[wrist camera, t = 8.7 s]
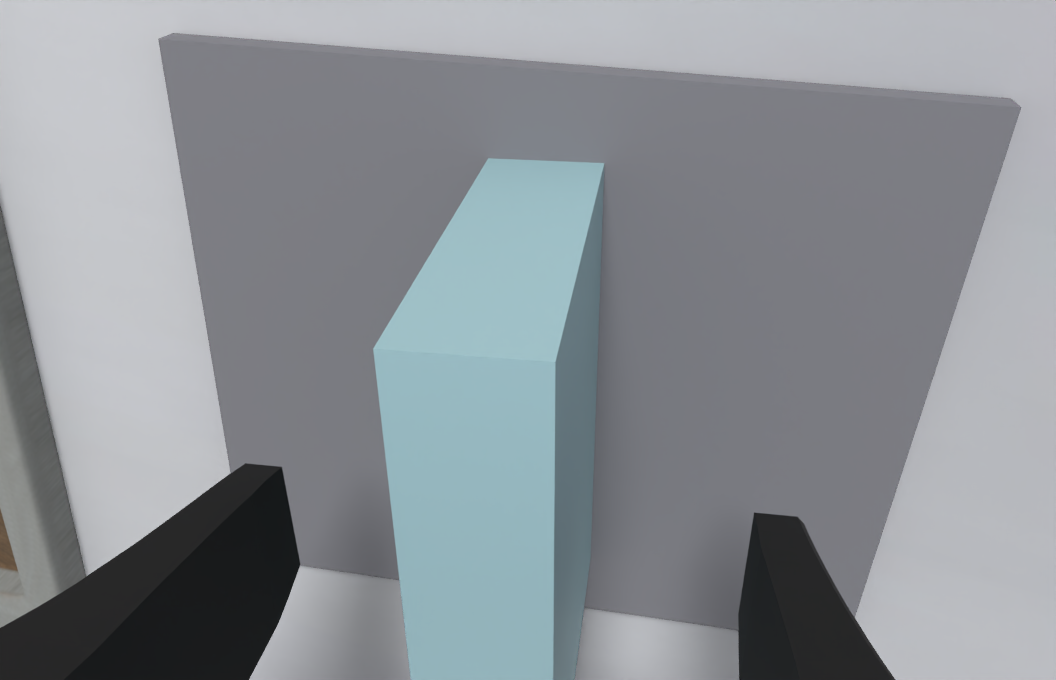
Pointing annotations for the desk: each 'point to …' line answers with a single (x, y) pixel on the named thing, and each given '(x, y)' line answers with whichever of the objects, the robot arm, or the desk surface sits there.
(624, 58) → the desk surface
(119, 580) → the robot arm
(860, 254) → the mat
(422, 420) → the pale teal block
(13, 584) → the grey flat rectangular frame
